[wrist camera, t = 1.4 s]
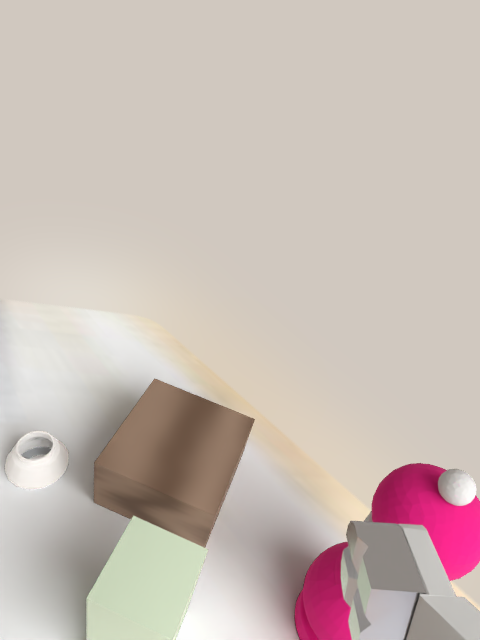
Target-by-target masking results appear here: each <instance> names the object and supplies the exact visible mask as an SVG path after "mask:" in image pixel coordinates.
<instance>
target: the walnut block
mask: <svg viewBox="0 0 480 640" xmlns="http://www.w3.org/2000/svg"><path fill="white" fill-rule="evenodd" d="M254 420H255V419H253V418H250V417H248V416H246V415H243V414H241V413H238V412H236V411H233V410H231V409H228V408H226V407H223V406H221V405H218V404H216V403H214V402H211V401H209V400H206V399H204V398H201V397H199V396H196V395H194V394H191V393H189V392H186V391H184V390H182V389H179V388H177V387H174V386H172V385H169V384H167V383H164V382H162V381H159V380H157V379H154V380H153V381H152V383H151V384H150V386H149V387H148V388H147V390H146V391H145V393H144V394H143V395H142V397H141V398H140V400H139V401H138V402H137V404H136V405H135V407H134V408H133V409H132V411H131V412H130V414H129V415H128V416H127V418H126V419H125V421H124V422H123V423H122V425H121V426H120V427H119V429H118V430H117V432H116V433H115V434H114V436H113V437H112V439H111V440H110V441H109V443H108V444H107V446H106V447H105V448H104V450H103V451H102V453H101V454H100V455H99V457H98V458H97V460H96V461H95V462H94V503H96V504H98V505H100V506H103V507H105V508H107V509H109V510H111V511H114V512H116V513H118V514H120V515H122V516H125V517H127V518H129V519H132V517H133V516H135V517H138V518H140V519H142V520H144V521H147V522H149V523H151V524H153V525H155V526H158V527H160V528H162V529H164V530H166V531H169V532H171V533H173V534H175V535H177V536H180V537H182V538H184V539H186V540H189V541H191V542H193V543H195V544H197V545H200V546H202V547H204V548H205V546H206V544H207V541H208V539H209V536H210V534H211V531H212V529H213V526H214V524H215V521H216V519H217V516H218V514H219V512H220V509H221V507H222V504H223V502H224V499H225V497H226V494H227V492H228V489H229V487H230V484H231V482H232V479H233V477H234V474H235V472H236V469H237V467H238V464H239V462H240V459H241V457H242V454H243V451H244V448H245V446H246V443H247V440H248V437H249V434H250V431H251V429H252V426H253V423H254Z"/></svg>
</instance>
